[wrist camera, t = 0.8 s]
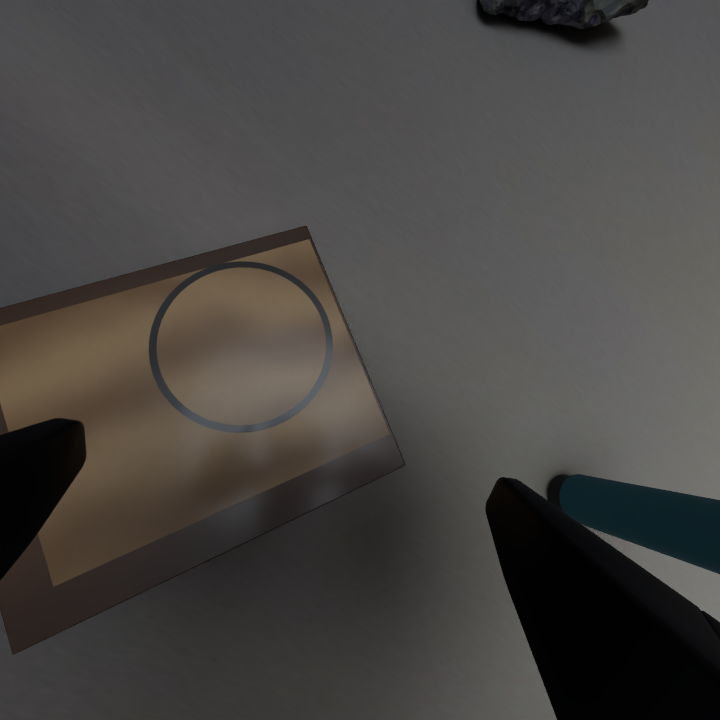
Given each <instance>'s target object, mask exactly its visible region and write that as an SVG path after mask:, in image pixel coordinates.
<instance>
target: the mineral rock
mask: <svg viewBox="0 0 720 720" xmlns="http://www.w3.org/2000/svg"><path fill="white" fill-rule="evenodd" d="M479 1H480V3H481V5H482V7H483V9H484V11H485V12H487V13H489V14H491V15H497V14H498V13H503V14H505V15H507V16H515V17H516V18H517V19H518V20H519V21H534V20H537V19H539V18H541V20H542V21H543V22H544V23H546V24H548V25H553V24H562V25H566V26H573V27H575V28H577V29H584V28H587V27H593V26H596V25H599V24H601V23H603V22H606V21H608V20H611V19H612V18H616V17H619V16H625V15H631V14H633V13H636V12H637V11H639V10H640V9H643V8H645V7H646V6H647V4H648V0H479Z"/></svg>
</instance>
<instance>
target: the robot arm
mask: <svg viewBox="0 0 720 720" xmlns="http://www.w3.org/2000/svg"><path fill="white" fill-rule="evenodd" d="M86 456H87V451H86V439H85V428H84V425H83V423H82V422H81V421H79V420H73V419H66V418H53V419H50V420H47V421H44V422H40V423H37V424H34V425H31V426H27V427H24V428H21V429H18V430H15V431H11V432H8V433H5V434H2V435H0V580H1V579H2V578H3V577H4V576H5V574H6V573H7V572H8V571H9V569H10V568H11V567H12V566H13V565H14V563H15V562H16V561H17V560H18V559H19V557H20V556H21V555H22V554H23V552H24V551H25V550H26V548H27V547H28V546H29V545H30V543H31V542H32V541H33V539H34V538H35V537H36V535H37V534H38V532H39V531H40V530H41V528H42V527H43V525H44V524H45V522H46V521H47V519H48V518H49V516H50V515H51V513H52V512H53V510H54V509H55V507H56V506H57V504H58V503H59V501H60V500H61V499H62V497H63V496H64V494H65V493H66V491H67V490H68V488H69V487H70V485H71V484H72V482H73V481H74V479H75V478H76V476H77V475H78V473H79V472H80V470H81V469H82V467H83V466H84V463H85V461H86ZM486 515H487V519H488V522H489V526H490V529H491V533H492V536H493V540H494V544H495V547H496V551H497V554H498V558H499V562H500V565H501V569H502V572H503V575H504V578H505V581H506V584H507V587H508V590H509V593H510V595H511V598H512V601H513V603H514V606H515V609H516V611H517V614H518V617H519V619H520V622H521V625H522V627H523V630H524V633H525V635H526V638H527V641H528V643H529V646H530V649H531V651H532V654H533V657H534V659H535V662H536V665H537V667H538V670H539V673H540V675H541V678H542V681H543V683H544V686H545V689H546V691H547V694H548V696H549V699H550V702H551V704H552V707H553V710H554V712H555V715H556V718H557V720H720V622H719V621H717V620H716V619H714V618H713V617H712V616H710V615H709V614H707V613H706V612H704V611H701V610H700V609H699V608H698V607H697V606H696V605H694V604H693V603H692V602H690V601H689V600H687V599H686V598H685V597H683V596H682V595H680V594H679V593H677V592H676V591H675V590H673V589H672V588H670V587H669V586H668V585H666V584H665V583H663V582H662V581H661V580H659V579H658V578H656V577H655V576H653V575H652V574H651V573H649V572H648V571H646V570H645V569H644V568H642V567H641V566H639V565H638V564H636V563H635V562H634V561H632V560H631V559H629V558H628V557H627V556H625V555H624V554H622V553H621V552H620V551H618V550H617V549H615V548H614V547H612V546H611V545H610V544H608V543H607V542H605V541H604V540H603V539H601V538H600V537H598V536H597V535H595V534H594V533H593V532H591V531H590V530H588V529H587V528H586V527H584V526H583V525H581V524H580V523H579V522H577V521H576V520H574V519H573V518H571V517H570V516H569V515H567V514H566V513H564V512H563V511H562V510H560V509H559V508H557V507H556V506H554V505H553V504H552V503H550V502H549V501H547V500H546V499H545V498H543V497H542V496H540V495H539V494H538V493H536V492H535V491H533V490H532V489H530V488H529V487H528V486H526V485H525V484H523V483H522V482H521V481H519V480H517V479H512V478H505V477H502V478H499V479H498V480H497V482H496V483H495V485H494V488H493V490H492V492H491V494H490V496H489V498H488V500H487V502H486Z"/></svg>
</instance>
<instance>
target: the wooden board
mask: <svg viewBox="0 0 720 720" xmlns="http://www.w3.org/2000/svg"><path fill="white" fill-rule="evenodd" d="M53 418H66V419H73V420H79V421H81V422H82V423H83V425H84V428H85V439H86V451H87V456H86V461H85V463H84V466H83V467H82V469H81V470H80V472H79V473H78V475H77V476H76V478H75V479H74V481H73V482H72V484H71V485H70V487H69V488H68V490H67V491H66V493H65V494H64V496H63V497H62V499H61V500H60V501H59V503H58V504H57V506H56V507H55V509H54V510H53V512H52V513H51V515H50V516H49V518H48V519H47V521H46V522H45V524H44V525H43V527H42V528H41V530H40V531H39V532H38V534H37V535H36V537H35V538H34V539H33V541H32V542H31V543H30V545H29V546H28V547H27V548H26V550H25V551H24V552H23V554H22V555H21V556H20V557H19V559H18V560H17V561H16V562H15V563H14V565H13V566H12V567H11V568H10V569H9V571H8V572H7V573H6V574H5V576H4V577H3V578H2V579H1V580H0V610H1V614H2V617H3V621H4V625H5V628H6V632H7V636H8V639H9V643H10V647H11V651H12V654H16V653H18V652H20V651H22V650H24V649H26V648H28V647H30V646H32V645H34V644H37V643H39V642H41V641H43V640H45V639H47V638H49V637H51V636H53V635H55V634H57V633H59V632H61V631H63V630H65V629H68V628H70V627H72V626H74V625H76V624H78V623H80V622H82V621H84V620H86V619H88V618H90V617H92V616H94V615H97V614H99V613H101V612H103V611H105V610H107V609H109V608H111V607H113V606H115V605H117V604H119V603H121V602H123V601H126V600H128V599H130V598H132V597H134V596H136V595H138V594H140V593H142V592H144V591H146V590H148V589H150V588H152V587H155V586H157V585H159V584H161V583H163V582H165V581H167V580H169V579H171V578H173V577H175V576H177V575H179V574H181V573H184V572H186V571H188V570H190V569H192V568H194V567H196V566H198V565H200V564H202V563H204V562H206V561H208V560H210V559H213V558H215V557H217V556H219V555H221V554H223V553H225V552H227V551H229V550H231V549H233V548H235V547H237V546H239V545H242V544H244V543H246V542H248V541H250V540H252V539H254V538H256V537H258V536H260V535H262V534H264V533H266V532H268V531H271V530H273V529H275V528H277V527H279V526H281V525H283V524H285V523H287V522H289V521H291V520H293V519H295V518H297V517H299V516H302V515H304V514H306V513H308V512H310V511H312V510H314V509H316V508H318V507H320V506H322V505H324V504H326V503H328V502H331V501H333V500H335V499H337V498H339V497H341V496H343V495H345V494H347V493H349V492H351V491H353V490H355V489H357V488H360V487H362V486H364V485H366V484H368V483H370V482H372V481H374V480H376V479H378V478H380V477H382V476H384V475H386V474H389V473H391V472H393V471H395V470H397V469H399V468H401V467H403V466H405V462H404V460H403V458H402V455H401V453H400V450H399V448H398V445H397V443H396V441H395V438H394V436H393V433H392V431H391V429H390V426H389V424H388V421H387V419H386V416H385V414H384V412H383V409H382V407H381V404H380V402H379V400H378V397H377V395H376V392H375V390H374V388H373V385H372V383H371V380H370V378H369V375H368V373H367V371H366V368H365V366H364V363H363V361H362V359H361V356H360V354H359V351H358V349H357V346H356V344H355V342H354V339H353V337H352V334H351V332H350V330H349V327H348V325H347V322H346V320H345V317H344V315H343V313H342V310H341V308H340V305H339V303H338V301H337V298H336V296H335V293H334V291H333V289H332V286H331V284H330V281H329V279H328V276H327V274H326V272H325V269H324V267H323V264H322V262H321V260H320V257H319V255H318V252H317V250H316V247H315V245H314V243H313V240H312V238H311V235H310V233H309V231H308V228H307V226H303V227H299V228H295V229H292V230H288V231H284V232H281V233H277V234H273V235H269V236H266V237H262V238H258V239H255V240H251V241H247V242H243V243H240V244H236V245H232V246H229V247H225V248H221V249H218V250H214V251H210V252H206V253H203V254H199V255H195V256H192V257H188V258H184V259H180V260H177V261H173V262H169V263H166V264H162V265H158V266H154V267H151V268H147V269H143V270H140V271H136V272H132V273H129V274H125V275H121V276H117V277H114V278H110V279H106V280H103V281H99V282H95V283H91V284H88V285H84V286H80V287H77V288H73V289H69V290H66V291H62V292H58V293H54V294H51V295H47V296H43V297H40V298H36V299H32V300H28V301H25V302H21V303H17V304H14V305H10V306H6V307H3V308H0V435H2V434H5V433H8V432H11V431H15V430H18V429H21V428H24V427H27V426H31V425H34V424H37V423H40V422H44V421H47V420H50V419H53Z"/></svg>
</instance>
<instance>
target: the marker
mask: <svg viewBox="0 0 720 720" xmlns="http://www.w3.org/2000/svg"><path fill="white" fill-rule="evenodd" d="M548 498H549V501H550V503H552V504H553V505H554V506H556V507H557V508H559V509H560V510H562V511H563V512H564V513H566V514H567V515H569V516H570V517H571V518H573V519H574V520H576V521H577V522H579V523H580V524H582V525H584V526H587V527H590V528H593V529H596V530H598V531H601V532H604V533H607V534H609V535H612V536H615V537H618V538H621V539H623V540H626V541H629V542H632V543H635V544H637V545H640V546H643V547H646V548H648V549H651V550H654V551H657V552H660V553H662V554H665V555H668V556H671V557H673V558H676V559H679V560H682V561H685V562H687V563H690V564H693V565H696V566H699V567H701V568H704V569H707V570H710V571H712V572H715V573H718V574H720V500H716V499H710V498H705V497H699V496H694V495H689V494H683V493H678V492H672V491H667V490H661V489H656V488H651V487H645V486H640V485H634V484H629V483H623V482H618V481H612V480H607V479H602V478H596V477H591V476H585V475H579V474H577V475H572V476H568V475H559V476H557V477H555V478H554V479H553V480H552V481H551V483H550V485H549V488H548Z"/></svg>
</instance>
